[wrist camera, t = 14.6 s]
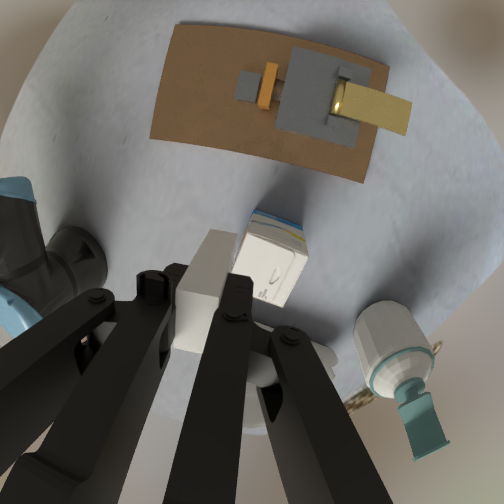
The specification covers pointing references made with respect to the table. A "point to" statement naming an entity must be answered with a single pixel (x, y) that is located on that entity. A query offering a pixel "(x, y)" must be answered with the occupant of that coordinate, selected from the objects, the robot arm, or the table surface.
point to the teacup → (252, 408)
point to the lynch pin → (270, 87)
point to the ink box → (271, 256)
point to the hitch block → (248, 91)
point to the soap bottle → (400, 370)
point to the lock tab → (371, 107)
